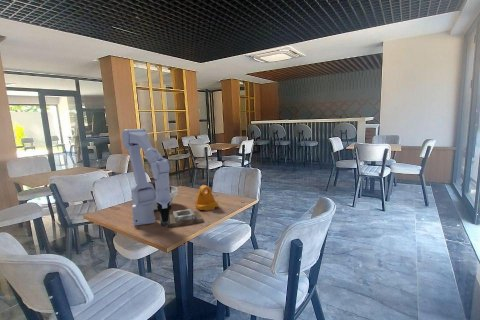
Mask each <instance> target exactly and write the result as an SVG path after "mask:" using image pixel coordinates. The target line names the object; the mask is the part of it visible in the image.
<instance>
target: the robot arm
mask: <svg viewBox="0 0 480 320" xmlns="http://www.w3.org/2000/svg"><path fill="white" fill-rule="evenodd" d="M148 137H149V136H148V132H147V130H146V128H133V129H132V128H131V129H130V128H129V129H125V128H124V129H123V130H122V134H121V140H122V143H123V148H124V149H126V150H127V152H128V154H129V160H130V164H131V168H132V173H133V177H134V181H135V185H134V186H133V187H132V188H131V190H130V191H131V192H130V194H131V193H132V199H131V200H132V203H133V204H132V207H131V208H132V209H131V211H132V222H133V226H134V227H135V226H141V225H149V224H154V223H156V216H155V210H153V202H157V205H158V206H157V208H158V210H157V211H158V212H159V215H160V214H161V218H162V221H163V222H167V221H168V219H169V213H170V211H171V209H172V204H171V205H169V204H170V201H171V198H170V186H171V185H169V184H170V174H169V173H170V172H171V171H172V165H171V162H170V160H169V159H167V158H165V157H163V156H162V154H161V153H160V152H159V150H158V149H157V148H156V147H153V146H152V144H151V143H150V141H149V139H148ZM141 149H142V151H143V152H144V157H145V159H146V160H147V162H148V163H149V165H151V166H150V170H151V173H152V177H153V179H154V181H155V188H156V191H155V189H154V187H153V185H152V184H150V183H149V182H150V181H148V180H147V176H146V172H145V167H144V163H143V159H142V155H141V154H142V153H141ZM145 188H146V189H145ZM140 189H144V190H140ZM138 190H140V191H138Z"/></svg>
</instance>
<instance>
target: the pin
mask: <svg viewBox="0 0 480 320" xmlns="http://www.w3.org/2000/svg"><path fill="white" fill-rule="evenodd" d="M170 215H171V214H170V212H169V219H168V221H167V222H163V221H162V218H161V214H160V213H159V223H160V226H161V227H162V228H163V227H164V228H165V227H168V226H169V225H170Z"/></svg>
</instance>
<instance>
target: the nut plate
mask: <svg viewBox="0 0 480 320" xmlns="http://www.w3.org/2000/svg"><path fill="white" fill-rule="evenodd" d="M203 222H204V217H202V214H201V213H200V210H195V211H194V210H193V208H188V209H180V210H175V211H174V210H173V211H172V214H170V225H169V226H167V228H174V227H179V226H186V225H191V224H199V223H203Z"/></svg>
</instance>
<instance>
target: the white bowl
mask: <svg viewBox="0 0 480 320" xmlns="http://www.w3.org/2000/svg"><path fill="white" fill-rule="evenodd" d="M148 182H149V183H150V184H152V185H153V187H154V189H155V191H156V188H155V180H152V181H148ZM169 185H170V183H169ZM145 189H146V188H145ZM140 190H144V189H140ZM140 190H138V191H140ZM178 193H179V189H178V187H177V186H174V185H170V198H171V201H170V204H169V205H171V206H172V204H173V203H174V199H175V198H176V197H177V196H178V195H177V194H178ZM129 196H130V199H131V200H132V193H131V192H130V194H129ZM157 206H158V205H157V202H153V210H154V211H159V210H158V208H157Z"/></svg>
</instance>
